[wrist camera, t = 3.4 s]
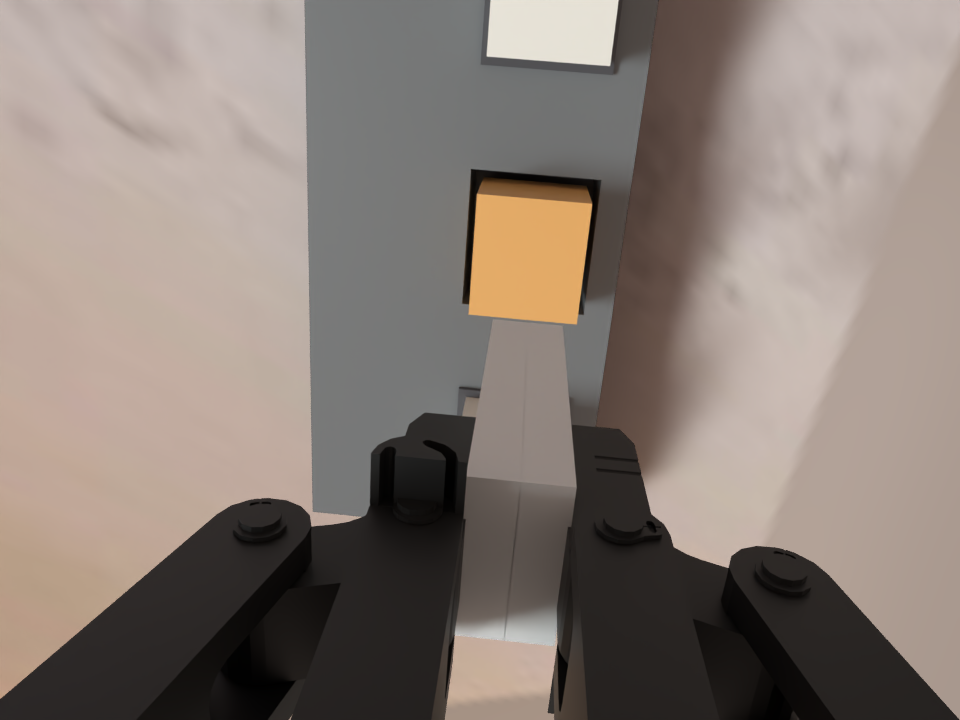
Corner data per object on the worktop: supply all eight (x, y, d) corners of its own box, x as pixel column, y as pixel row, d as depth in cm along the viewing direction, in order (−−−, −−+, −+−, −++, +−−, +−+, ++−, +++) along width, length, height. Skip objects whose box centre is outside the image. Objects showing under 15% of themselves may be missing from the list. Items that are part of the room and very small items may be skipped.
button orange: (483, 177, 27) (476, 193, 24) (586, 185, 27) (592, 203, 24) (475, 286, 28) (468, 314, 25) (572, 295, 28) (576, 324, 25)
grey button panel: (335, -151, 26) (277, -205, 20) (661, -129, 25) (695, -178, 20) (336, 462, 35) (297, 543, 30) (574, 486, 35) (581, 573, 29)
